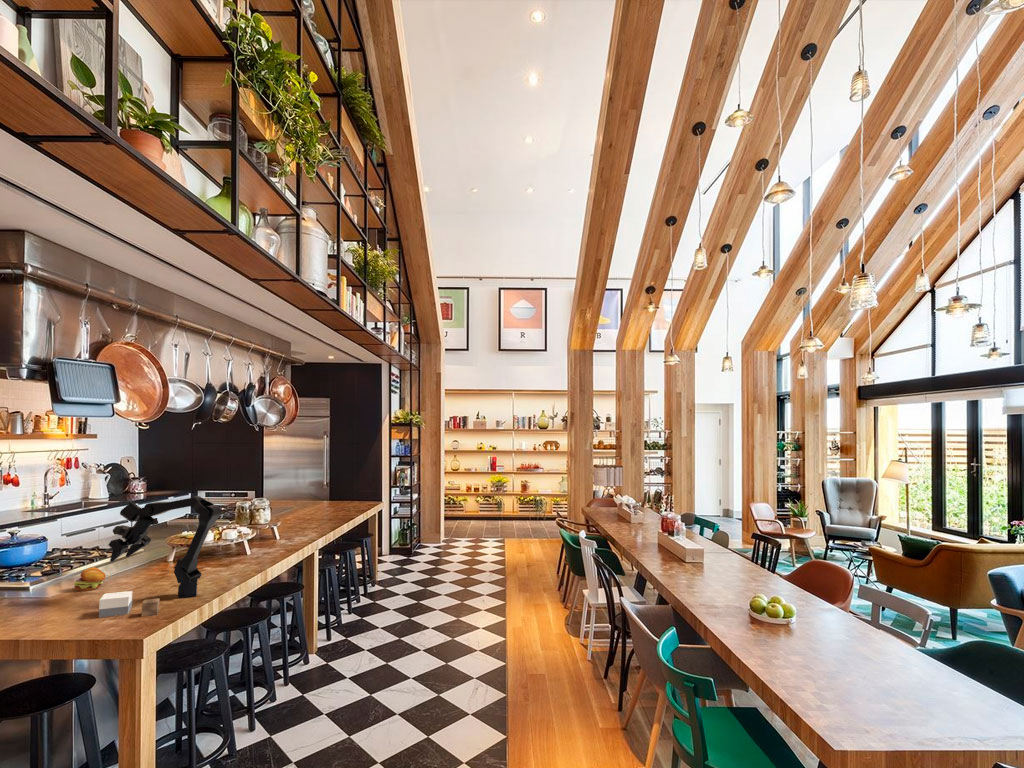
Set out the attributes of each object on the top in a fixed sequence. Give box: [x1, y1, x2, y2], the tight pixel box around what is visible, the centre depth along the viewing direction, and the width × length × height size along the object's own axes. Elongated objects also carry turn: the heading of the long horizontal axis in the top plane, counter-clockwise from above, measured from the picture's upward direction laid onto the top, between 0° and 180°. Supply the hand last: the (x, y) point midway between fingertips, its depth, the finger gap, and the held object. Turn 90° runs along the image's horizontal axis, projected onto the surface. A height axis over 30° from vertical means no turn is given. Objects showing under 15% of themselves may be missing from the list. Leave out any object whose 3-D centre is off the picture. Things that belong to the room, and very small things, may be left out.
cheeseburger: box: [73, 567, 106, 592], centre depth 243 cm, size 10×11×10 cm
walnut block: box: [141, 597, 160, 618], centre depth 210 cm, size 5×5×5 cm
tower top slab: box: [98, 590, 133, 610], centre depth 211 cm, size 9×9×4 cm
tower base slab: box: [98, 599, 133, 619], centre depth 210 cm, size 9×9×4 cm
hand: (119, 558), depth 236 cm, fingers open, 9 cm apart
